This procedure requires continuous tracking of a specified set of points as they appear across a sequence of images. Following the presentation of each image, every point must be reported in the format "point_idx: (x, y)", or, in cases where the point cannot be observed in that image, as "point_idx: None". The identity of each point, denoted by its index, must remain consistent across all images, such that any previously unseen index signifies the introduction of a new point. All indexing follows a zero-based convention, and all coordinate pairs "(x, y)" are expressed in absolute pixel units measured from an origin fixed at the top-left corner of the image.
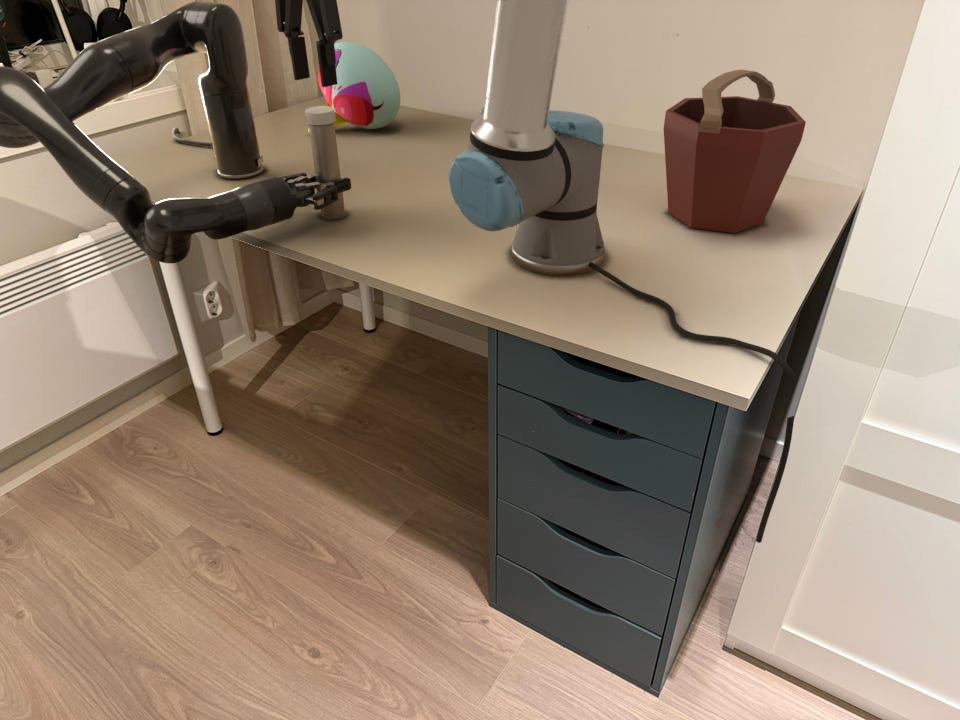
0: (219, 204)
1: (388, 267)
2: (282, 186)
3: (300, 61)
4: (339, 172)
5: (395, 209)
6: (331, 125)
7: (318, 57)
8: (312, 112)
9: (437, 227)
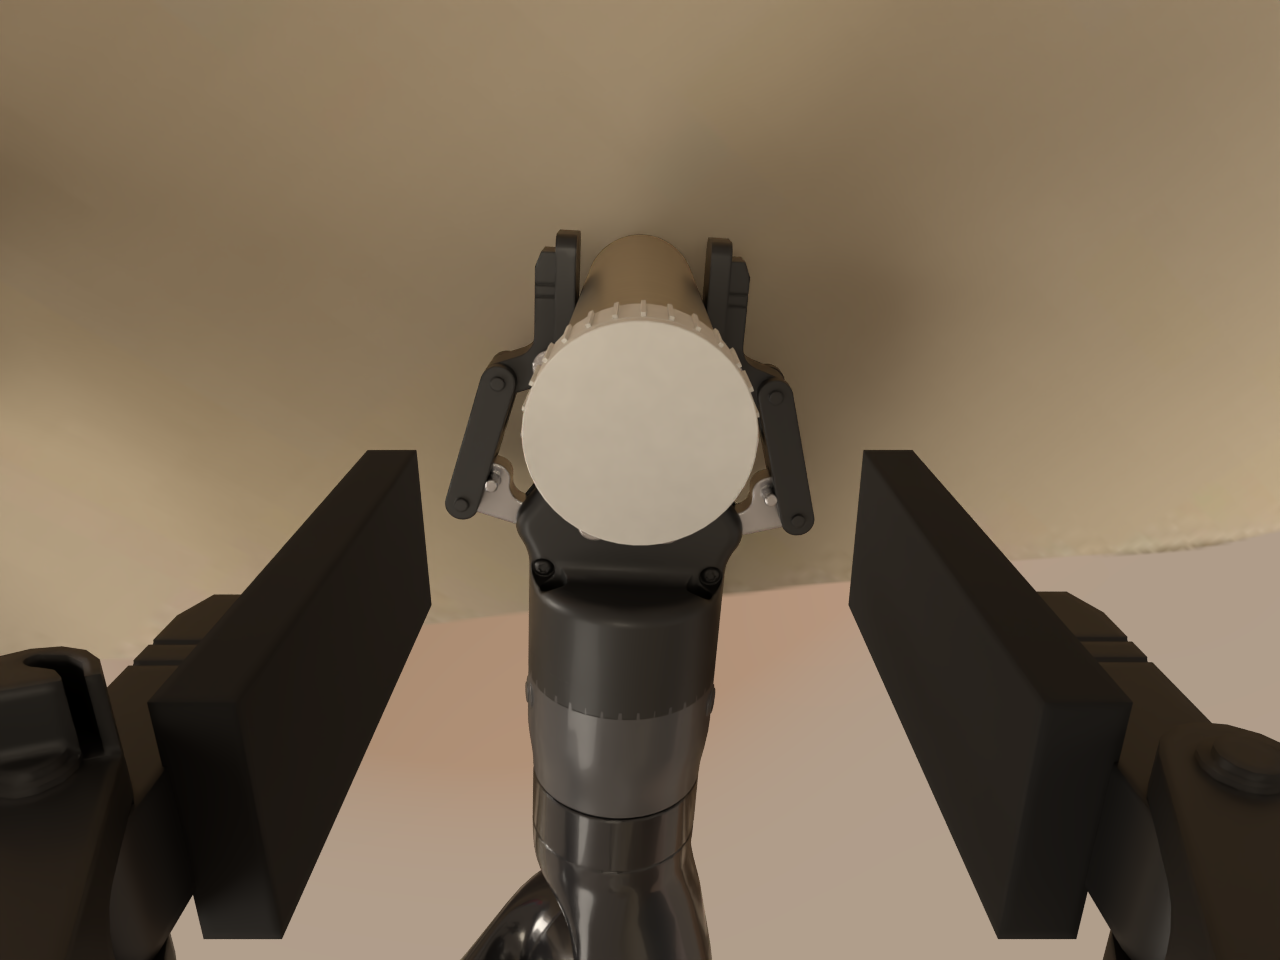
0: (661, 877)
1: (1182, 465)
2: (689, 634)
3: (377, 631)
4: (697, 292)
5: (818, 27)
6: None
7: (938, 792)
8: (665, 522)
9: (1139, 50)
